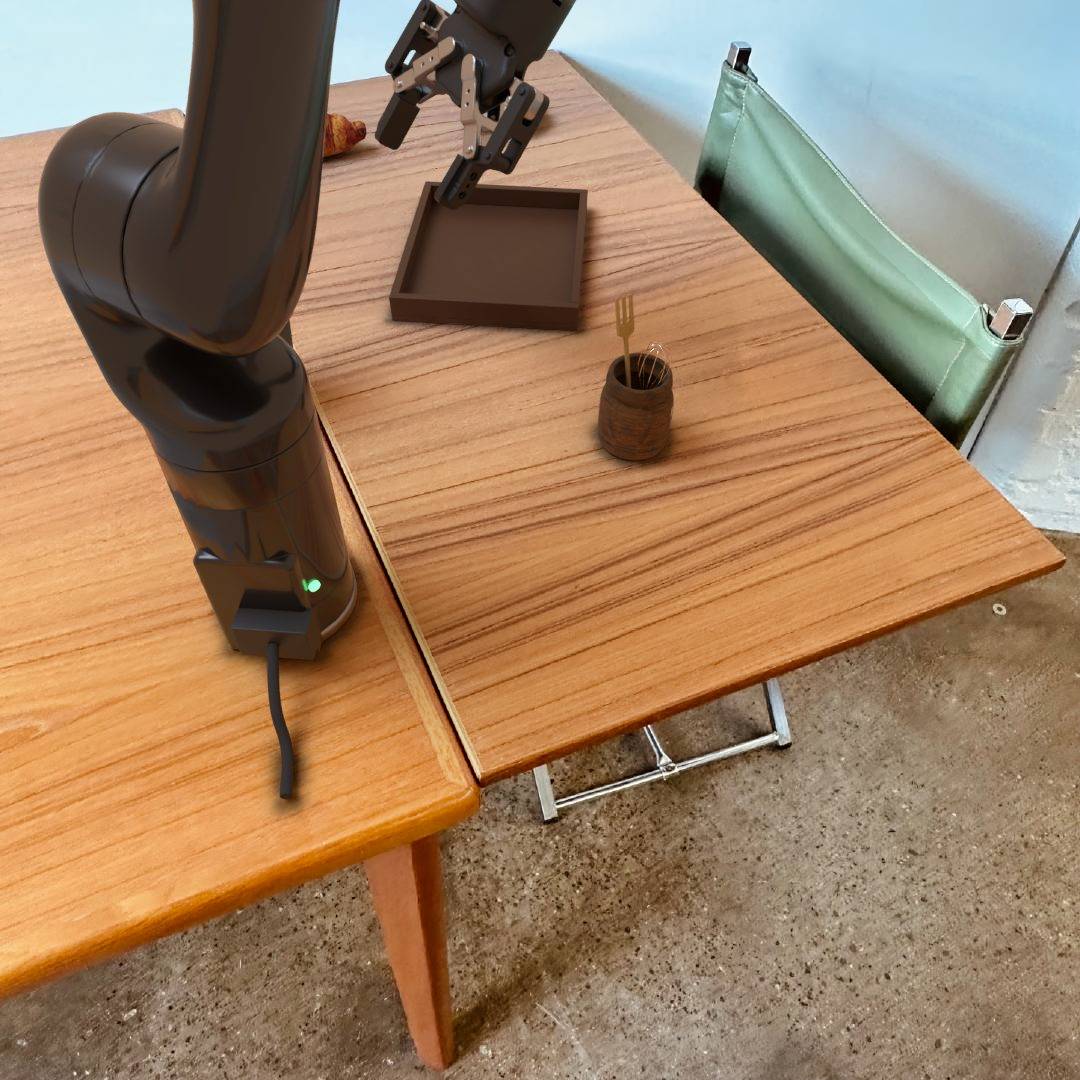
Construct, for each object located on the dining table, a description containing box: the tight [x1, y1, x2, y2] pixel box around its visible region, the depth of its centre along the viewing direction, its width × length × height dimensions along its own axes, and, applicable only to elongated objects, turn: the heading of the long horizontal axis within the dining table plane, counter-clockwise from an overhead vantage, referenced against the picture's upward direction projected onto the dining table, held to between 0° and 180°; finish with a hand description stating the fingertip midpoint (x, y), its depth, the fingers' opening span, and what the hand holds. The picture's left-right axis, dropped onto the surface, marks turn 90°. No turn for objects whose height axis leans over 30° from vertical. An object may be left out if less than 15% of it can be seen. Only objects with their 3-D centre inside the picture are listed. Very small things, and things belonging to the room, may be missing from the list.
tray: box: [388, 180, 589, 332], centre depth 92 cm, size 22×18×3 cm
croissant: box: [323, 112, 368, 158], centre depth 105 cm, size 21×10×8 cm, turn 93°
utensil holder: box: [597, 293, 675, 461], centre depth 72 cm, size 6×6×12 cm
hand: (414, 174), depth 70 cm, fingers open, 8 cm apart
